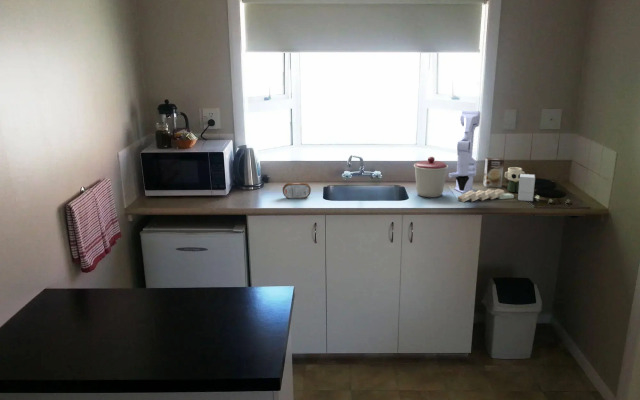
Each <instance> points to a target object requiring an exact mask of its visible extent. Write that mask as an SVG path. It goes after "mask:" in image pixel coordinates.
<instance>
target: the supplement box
mask: <svg viewBox="0 0 640 400" xmlns="http://www.w3.org/2000/svg"><path fill="white" fill-rule="evenodd" d="M518 182H519V192H517V193H518V194H517V195H518V197H517V199H518V201H527V202H533V201H534V194H535V193H534V191H535V183H536V175H535V174H529V173H525V174H523V173H522V174H520V180H519V181H518Z"/></svg>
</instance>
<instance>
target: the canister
mask: <svg viewBox="0 0 640 400" xmlns="http://www.w3.org/2000/svg"><path fill="white" fill-rule="evenodd" d="M413 167H414V175H415V186H416V192H417V194H418V195H419V196H420V197H422V198H423V197H424V198H438V197H440V196H441V195H442V194H443V193H444V187H445V183H446V177H447V170H448V168H449V165H448V164H446V163H445V162H442V161H439V160H435V157H434V156H428V157H427V160H421V161H417V162H415V163H414V164H413Z"/></svg>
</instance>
